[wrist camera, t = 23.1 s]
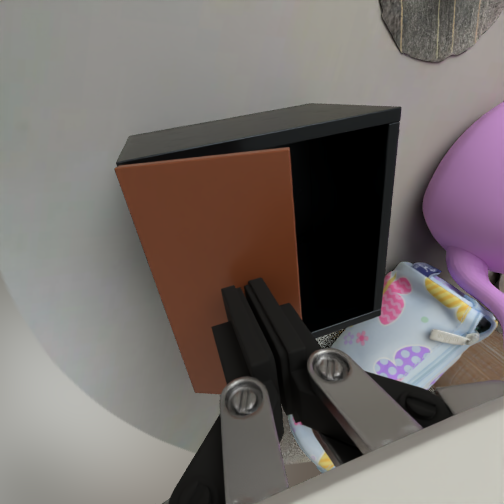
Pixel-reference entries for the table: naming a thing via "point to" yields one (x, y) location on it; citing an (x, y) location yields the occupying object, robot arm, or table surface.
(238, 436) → the robot arm
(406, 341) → the pencil case
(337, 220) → the open black box
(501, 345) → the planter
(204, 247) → the flap
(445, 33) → the sculpture
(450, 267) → the teapot
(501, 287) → the cup
